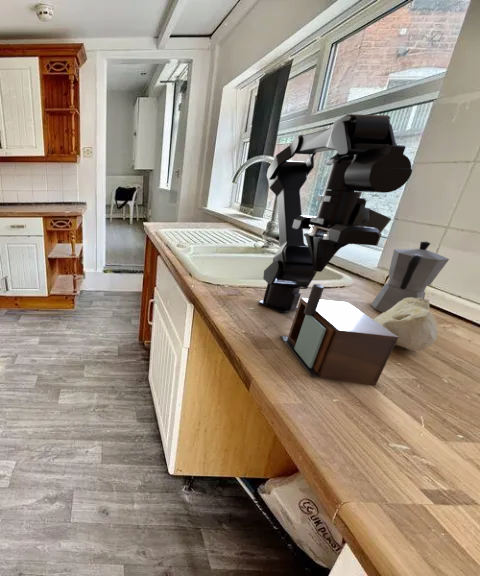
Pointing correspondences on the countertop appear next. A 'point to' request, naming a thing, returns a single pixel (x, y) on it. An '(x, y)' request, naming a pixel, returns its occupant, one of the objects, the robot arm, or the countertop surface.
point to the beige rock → (410, 323)
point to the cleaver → (310, 329)
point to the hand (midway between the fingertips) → (317, 271)
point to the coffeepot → (409, 275)
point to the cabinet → (345, 343)
